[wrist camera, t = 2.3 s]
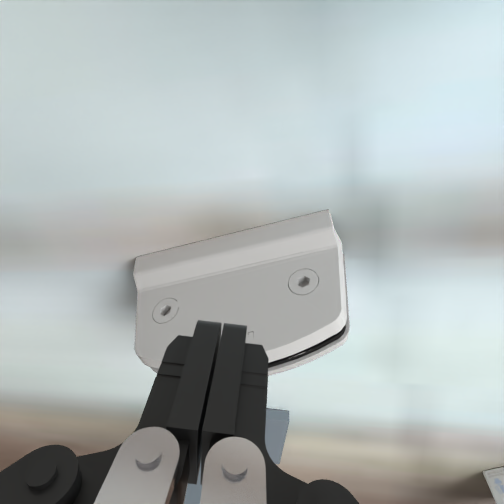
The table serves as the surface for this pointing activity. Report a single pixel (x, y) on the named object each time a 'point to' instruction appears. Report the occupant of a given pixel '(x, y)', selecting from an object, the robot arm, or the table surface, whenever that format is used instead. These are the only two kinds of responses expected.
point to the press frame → (273, 440)
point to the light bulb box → (496, 483)
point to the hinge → (249, 291)
